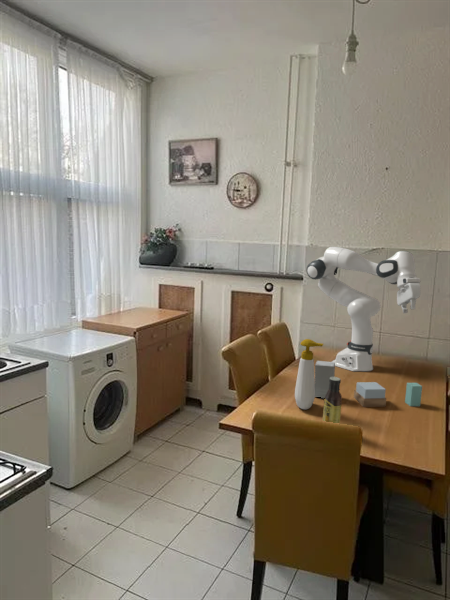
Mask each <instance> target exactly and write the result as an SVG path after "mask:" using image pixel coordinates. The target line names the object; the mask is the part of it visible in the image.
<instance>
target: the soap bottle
mask: <svg viewBox="0 0 450 600" xmlns="http://www.w3.org/2000/svg"><path fill="white" fill-rule="evenodd" d="M299 345H300V346H301V347H302V346H303V347H305V350H303V351H301V355H300V359H299V364H298V370H297V377H296V382H295V388H294V399H295V403H296V406H297V407H298V408H300V409H301V410H309V409H310V408H311V407H312V405H313V403H314V401H315V359H314V352H313V351H312V350H310V349H311V348H312V347H313V348H315V347H321V348H322V347H323V346H324V343H321V342H316V341H314V340H313V339H310V338H305V339H303V340H301V342H300V344H299Z"/></svg>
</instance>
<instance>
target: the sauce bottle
mask: <svg viewBox="0 0 450 600" xmlns="http://www.w3.org/2000/svg"><path fill="white" fill-rule="evenodd" d="M329 382H330V383H329V389H328V391H327V394H326V396H325V399H324V398H323V400H324V401H323V411H322V412H323V413H322V421H326V422H333V423H340V422H341V415H342V413H341V412H342V394H341V392H340V386H341V382H342V380H341V378H340V377H337V376H334V377H330V378H329Z"/></svg>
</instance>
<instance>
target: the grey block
mask: <svg viewBox="0 0 450 600" xmlns="http://www.w3.org/2000/svg"><path fill="white" fill-rule="evenodd" d="M355 390H356V391H357V392H358V393H359V394H360V395H361V396H362V397H364V398H365V399H366V398H386V388H385V387H384V386H382V385H381V384H379V383H378V382H376V381H371V382H370V381H368V382H367V381H366V382H363V381H362V382H361V381H359V382H356V387H355Z"/></svg>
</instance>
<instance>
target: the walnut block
mask: <svg viewBox="0 0 450 600" xmlns="http://www.w3.org/2000/svg"><path fill="white" fill-rule="evenodd" d="M354 398H355V399H356V400H357V401H358V402H357V401H356V400H355V399H354ZM353 399H354V400H355V401H356V402H357V403H358V404H360V405H361V406H362V408H368V407H370V408H372V407H373V408H377V407H378V408H379V407H383V408H384V407H386V405H387V398H386V397H385V398H366V399H365V398H364V397H362V396H361V395H360V394H359V393H358V392H357V391H356V389H355V390H354V391H353Z"/></svg>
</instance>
